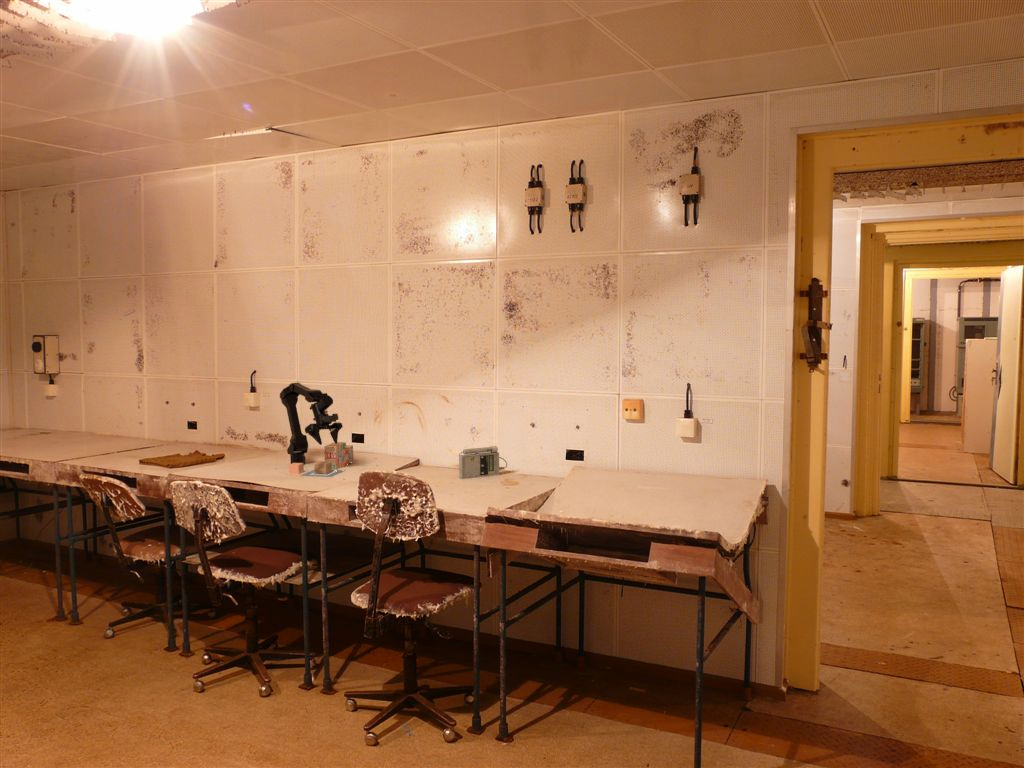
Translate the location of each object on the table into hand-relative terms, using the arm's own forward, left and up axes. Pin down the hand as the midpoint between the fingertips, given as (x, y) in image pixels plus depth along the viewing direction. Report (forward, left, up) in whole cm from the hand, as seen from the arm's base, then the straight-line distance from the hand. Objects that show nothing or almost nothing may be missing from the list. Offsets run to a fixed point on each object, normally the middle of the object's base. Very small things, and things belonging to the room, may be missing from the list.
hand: (328, 444), depth 379 cm
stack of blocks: (-4, +18, -15) cm, 24 cm away
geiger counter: (+74, +10, -15) cm, 76 cm away
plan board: (-3, -2, -14) cm, 15 cm away
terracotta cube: (-16, -4, -15) cm, 22 cm away
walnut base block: (-3, -2, -14) cm, 14 cm away
